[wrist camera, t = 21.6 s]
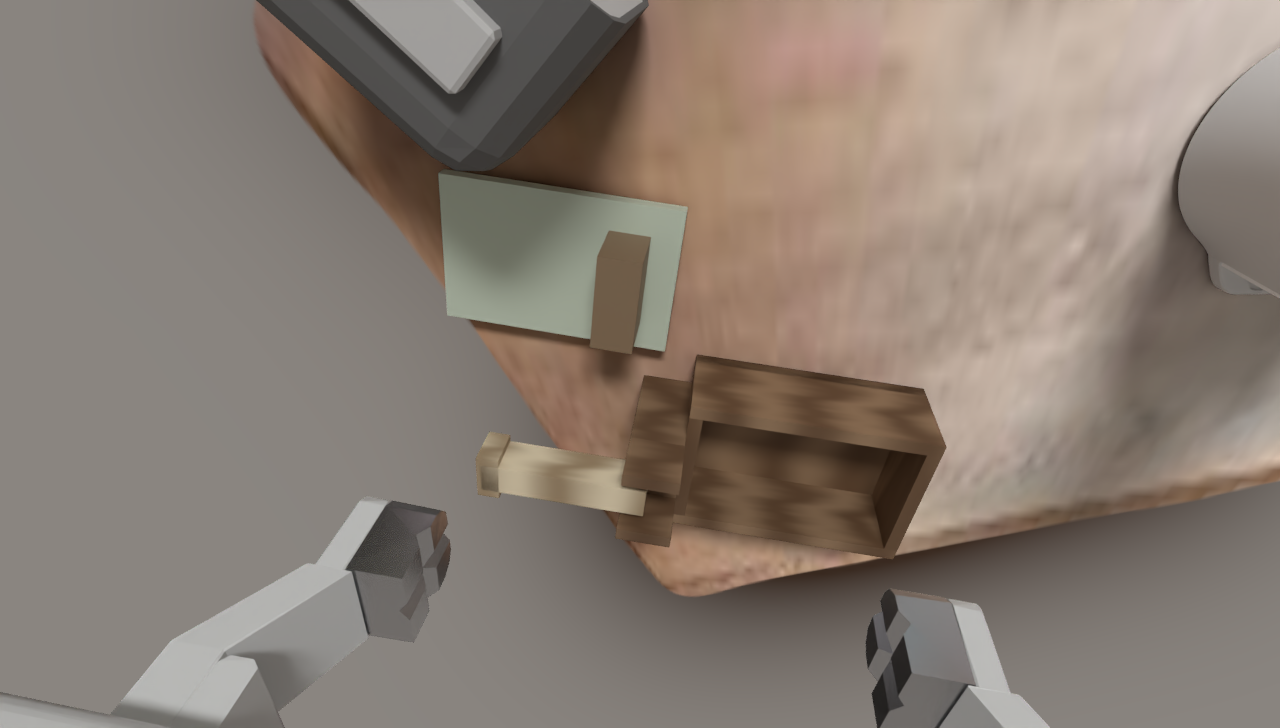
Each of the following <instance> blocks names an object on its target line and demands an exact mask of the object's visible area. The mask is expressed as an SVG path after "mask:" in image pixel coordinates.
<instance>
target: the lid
mask: <svg viewBox="0 0 1280 728" xmlns="http://www.w3.org/2000/svg"><path fill="white" fill-rule="evenodd" d="M438 177H439V193H440V209H441V224H442V240H443V255H444V271H445V287H446V301H447V315H448V316H454V317H460V318H466V319H472V320H478V321H484V322H490V323H496V324H502V325H508V326H514V327H520V328H526V329H532V330H538V331H544V332H550V333H556V334H562V335H568V336H574V337H580V338H586V339H590V348H596V349H602V350H608V351H614V352H620V353H626V354H632V351H633V347H640V348H646V349H652V350H658V351H664V352H665V347H666V342H667V335H668V329H669V323H670V317H671V310H672V304H673V298H674V291H675V285H676V279H677V273H678V266H679V260H680V254H681V247H682V241H683V235H684V229H685V222H686V216H687V210H688V207H686V206H679V205H673V204H666V203H660V202H653V201H647V200H641V199H634V198H628V197H621V196H615V195H608V194H602V193H596V192H589V191H583V190H576V189H570V188H563V187H557V186H551V185H544V184H538V183H531V182H525V181H518V180H512V179H505V178H499V177H493V176H486V175H480V174H473V173H467V172H460V171H454V170H448V169H443V170H442V171H440V172H439V173H438Z"/></svg>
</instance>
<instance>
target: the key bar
mask: <svg viewBox="0 0 1280 728" xmlns="http://www.w3.org/2000/svg"><path fill="white" fill-rule="evenodd" d="M624 465H625V460H623V459H617V458H611V457H605V456H599V455H593V454H586V453H580V452H574V451H568V450H562V449H556V448H549V447H543V446H537V445H531V444H525V443H519V442H512V441H510V435H507V434H500V433H494V432H489V433H488V435H487V437H486V439H485V441H484V443H483V445H482V447H481V449H480V451H479V453H478V455H477V457H476V471H477V487H478V495H483V496H489V497H495V498H499V497H500V495H501V493H506V494H513V495H518V496H524V497H530V498H536V499H542V500H548V501H554V502H560V503H566V504H572V505H578V506H584V507H591V508H596V509H602V510H608V511H614V512H620V513H626V514H632V515H638V516H643V513H644V507H645V501H646V495H647V490H645V489H639V488H632V487H626V486H621V481H622V474H623V469H624Z"/></svg>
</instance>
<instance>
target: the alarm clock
mask: <svg viewBox="0 0 1280 728" xmlns="http://www.w3.org/2000/svg"><path fill="white" fill-rule="evenodd" d="M257 1H258V2H259V3H260V4H261V5H262V6H264V7H265V8H266V9H267V10H268V11H269V12H270V13H271V14H273V15H274V16H275V17H276V18H277V19H278V20H279V21H280V22H281V23H283V24H284V25H285V26H286V27H287V28H288V29H289V30H290V31H292V32H293V33H294V34H295V35H296V36H297V37H298V38H299V39H300V40H302V41H303V42H304V43H305V44H306V45H307V46H308V47H309V48H311V49H312V50H313V51H314V52H315V53H316V54H317V55H318V56H320V57H321V58H322V59H323V60H324V61H325V62H326V63H327V64H328V65H330V66H331V67H332V68H333V69H334V70H335V71H336V72H337V73H339V74H340V75H341V76H342V77H343V78H344V79H345V80H346V81H348V82H349V83H350V84H351V85H352V86H353V87H354V88H355V89H356V90H358V91H359V92H360V93H361V94H362V95H363V96H364V97H365V98H367V99H368V100H369V101H370V102H371V103H372V104H373V105H374V106H376V107H377V108H378V109H379V110H380V111H381V112H382V113H383V114H384V115H386V116H387V117H388V118H389V119H390V120H391V121H392V122H393V123H395V124H396V125H397V126H398V127H399V128H400V129H401V130H402V131H404V132H405V133H406V134H407V135H408V136H409V137H410V138H411V139H412V140H414V141H415V142H416V143H417V144H418V145H419V146H420V147H421V148H423V149H424V150H425V151H426V152H427V153H428V154H429V155H430V156H432V157H433V158H435V159H436V160H438V161H440V162H442V163H443V164H445V165H447V166H449V167H450V168H452V169H454V170H456V171H486V170H492V169H493V168H495V167H497V166H498V165H500V164H501V163H503V162H505V161H506V160H508V159H509V158H511V157H512V156H514V155H515V154H516V153H517V152H518V151H519V150H520V149H521V148H522V147H523V146H524V145H525V144H526V143H527V142H528V141H529V140H530V139H531V138H532V137H533V136H534V135H535V134H536V133H537V132H539V131H540V130H541V129H542V128H543V127H544V126H545V125H546V124H547V123H548V122H549V121H550V120H551V119H552V118H553V117H554V116H555V115H556V114H557V112H558V111H559V110H560V109H561V108H562V107H563V105H564V104H565V103H566V102H567V101H568V99H569V98H570V97H571V96H572V95H573V94H574V92H575V91H576V90H577V89H578V88H579V87H580V85H581V84H582V83H583V82H584V81H585V80H586V78H587V77H588V76H589V75H590V74H591V73H592V71H593V70H594V69H595V68H596V67H597V65H598V64H599V63H600V62H601V61H602V60H603V58H604V57H605V56H606V55H607V54H608V53H609V51H610V50H611V49H612V48H613V47H614V46H615V44H616V43H617V42H618V41H619V40H620V38H621V37H622V36H623V35H624V34H625V33H626V31H627V30H628V29H629V28H630V27H631V26H632V24H633V23H634V22H635V21H636V20H637V19H638V17H639V16H640V15H641V14H642V13H643V12H644V10H645V9H646V8H647V7H648V6H649V4H648V0H257Z"/></svg>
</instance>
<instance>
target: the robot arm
mask: <svg viewBox="0 0 1280 728" xmlns="http://www.w3.org/2000/svg"><path fill="white" fill-rule="evenodd" d="M1178 198H1179V205H1180V210H1181V213H1182V216H1183V218H1184V221H1185V223H1186V224H1187V226H1188V228H1189V229H1190V231H1191V232H1192V233H1193V234H1194V236H1195V237H1196V238H1197V239H1198V240H1199V241H1200V243H1201V244H1202V245H1203V246H1204V248H1205V249H1206V251H1207V253H1208V262H1209V272H1210V277H1211V280H1212V283H1213V284H1214V286H1215V287H1217V288H1219V289H1220V290H1222V291H1224V292H1226V293H1228V294H1232V295H1251V294H1272V295H1274V296H1276V297H1277V298H1279V299H1280V48H1278V49H1277V50H1275V51H1274V52H1272V53H1271V54H1269V55H1268V56H1266V57H1265V58H1264V59H1262V60H1261V61H1259V62H1258V63H1257V64H1256V65H1254V66H1253V67H1252V68H1251V69H1249V70H1248V71H1247V72H1246V73H1245V74H1244V75H1242V76H1241V77H1240V78H1239V79H1238V80H1237V81H1236V82H1235V83H1234V84H1233V85H1232V86H1231V87H1230V88H1229V89H1228V90H1227V91H1226V92H1225V93H1224V94H1223V95H1222V96H1221V97H1220V99H1219V100H1218V101H1217V102H1216V103H1215V105H1214V106H1213V107H1212V108H1211V110H1210V111H1209V112H1208V114H1207V115H1206V117H1205V118H1204V119H1203V121H1202V122H1201V124H1200V126H1199V127H1198V129H1197V131H1196V132H1195V134H1194V136H1193V138H1192V140H1191V142H1190V144H1189V146H1188V149H1187V151H1186V154H1185V156H1184V159H1183V163H1182V166H1181V170H1180V175H1179V183H1178ZM447 525H448V521H447V516H446V512H445V511H440V510H436V509H431V508H426V507H421V506H416V505H411V504H407V503H401V502H396V501H391V500H386V499H380V498H375V497H370V496H366V497H365V498H363V499H362V500H361V501H360V502H358V503H357V505H356V507H355V508H354V509H353V511H352V512H351V514H350V515H349V516H348V518H347V519H346V521H345V522H344V524H343V525H342V526H341V528H340V529H339V531H338V532H337V534H336V535H335V536H334V538H333V539H332V541H331V542H330V544H329V545H328V547H327V548H326V549H325V551H324V552H323V554H322V555H321V556H320V558H319V559H318V561H317V562H316V564H309V563H307V564H305V565H303V566H301V567H300V568H298V569H296V570H294V571H293V572H291V573H289V574H287V575H286V576H284V577H282V578H280V579H279V580H277V581H275V582H273V583H272V584H270V585H268V586H266V587H265V588H263V589H261V590H259V591H257V592H256V593H254V594H252V595H251V596H249V597H247V598H245V599H243V600H242V601H240V602H238V603H236V604H235V605H233V606H231V607H229V608H228V609H226V610H224V611H222V612H221V613H219V614H217V615H215V616H214V617H212V618H210V619H208V620H206V621H205V622H203V623H201V624H199V625H198V626H196V627H194V628H193V629H191V630H189V631H187V632H185V633H184V634H182V635H180V636H178V637H177V638H175V639H173V640H172V641H170V643H169V644H168V645H167V646H166V648H165V649H164V650H163V651H162V652H161V654H160V655H159V656H158V657H157V658H156V660H155V661H154V662H153V663H152V665H151V666H150V667H149V668H148V670H147V671H146V672H145V673H144V674H143V675H142V677H141V678H140V679H139V680H138V681H137V683H136V684H135V685H134V686H133V687H132V689H131V690H130V691H129V692H128V694H127V695H126V696H125V697H124V698H123V700H122V701H121V702H120V703H119V705H118V706H117V707H116V708H115V709H114V710H113V712H112V713H111V714H110V715H109V714H104V713H99V712H94V711H89V710H84V709H80V708H74V707H70V706H65V705H60V704H55V703H51V702H46V701H41V700H36V699H32V698H27V697H22V696H17V695H12V694H7V693H3V692H0V728H285V727H284V725H283V722H282V720H281V718H280V716H279V713H278V711H280V710H281V709H282V708H283V707H284V706H286V705H287V704H288V703H289V702H291V701H292V700H293V699H294V698H295V697H297V696H298V695H299V694H300V693H301V692H303V691H304V690H305V689H307V688H308V687H309V686H310V685H311V684H313V683H314V682H315V681H316V680H317V679H319V678H320V677H321V676H322V675H324V674H325V673H326V672H327V671H329V670H330V669H331V668H332V667H333V666H335V665H336V664H337V663H338V662H340V661H341V660H342V659H343V658H345V657H346V656H347V655H348V654H349V653H351V652H352V651H353V650H354V649H356V648H357V647H358V646H359V645H361V644H362V643H363V642H364V641H365V640H366V639H368V635H371V636H377V637H383V638H389V639H395V640H401V641H408V642H414V641H415V639H416V637H417V635H418V633H419V631H420V628H421V627H422V624H423V623H424V620H425V618H426V616H427V614H428V612H429V605H428V597H429V596H431V595H432V594H434V593H435V592H437V591H438V590H439V589H440V587H441V585H442V582H443V580H444V578H445V575H446V572H447V568H448V565H449V561H450V552H451V548H450V540H449V539H448V538H447V537H446V536H445V534H443V533H444V531H445V529H446V527H447ZM880 602H881V607H882V612H880V613H878V614H876V615H874V616H873V617H872V619H871V622H870V624H869V626H868V630H867V637H866V659H867V666H868V670H869V671H870V673H871V674H872V675H873V676H874V678H875V679H876V680H877V681H878V682H877V684H876V686H875V688H874V690H873V692H872V699H873V705H874V711H875V717H876V724H877V728H1050V727H1049V726H1048V725H1047V724H1046V723H1045V722H1044V721H1043V719H1041V717H1040V716H1039V715H1038V714H1037V713H1036V712H1035V711H1034V710H1033V709H1032V708H1031V707H1030V706H1029V705H1028V703H1027V702H1026V701H1025V700H1024V699H1023V698H1022V697H1021V696H1020V695H1017V694H1013V693H1010V690H1009V687H1008V684H1007V681H1006V678H1005V676H1004V672H1003V669H1002V667H1001V664H1000V661H999V658H998V655H997V652H996V649H995V647H994V643H993V640H992V638H991V635H990V632H989V629H988V626H987V623H986V620H985V617H984V614H983V612H982V609H981V608H980V607H979V606H978V604H975V603H969V602H964V601H958V600H953V599H945V598H944V597H938V596H932V595H926V594H920V593H914V592H907V591H902V590H895V589H888V590H887V591H886V592H885V593H884V594H883V596H882V598H881V601H880Z"/></svg>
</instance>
